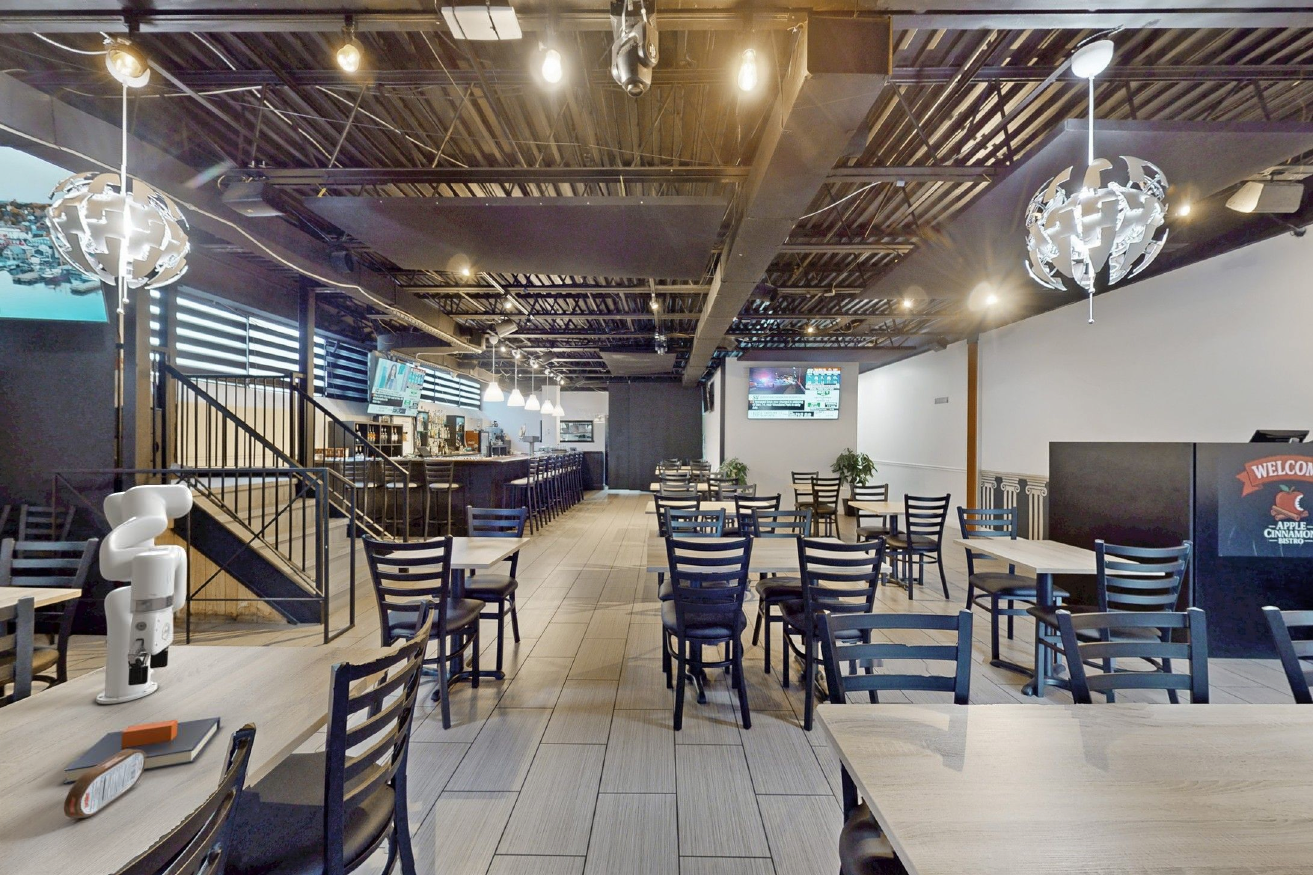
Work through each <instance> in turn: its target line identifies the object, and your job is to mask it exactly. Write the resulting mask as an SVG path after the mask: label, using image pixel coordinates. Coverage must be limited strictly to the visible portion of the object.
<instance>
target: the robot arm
mask: <svg viewBox="0 0 1313 875" xmlns="http://www.w3.org/2000/svg"><path fill="white" fill-rule="evenodd" d="M193 499H194V498H193V493H192V491H191V489H190V488H189V487H187V486H186V485H183V484H150V485H149V484H147V485H138V486H134V487H131V488H129V489H127V490H126V491H122V492H115V493H111V494H108V495H107V496H106V497H105V498H104V501H103V512H104V516H105V519H106V520H107V522H108V524H109V526H110V527H111V531H110V532H109V533H108V534H107V535H106V536H105V537H104V538H103V540H102V542H101V544H100V547H99V551H98V552H99V554H98V555H99V571H100V572H99V573H100V575H101V577H102V578H103V579H105V580H107V581H112V582H115V581H117V582H118V581H119V582H130V585H127V586H121V587H117V588H116V589H114V590H111V591H110V592H109V593H108V594H106V596H105V598H104V613H105V619H106V655H105V677H104V690H103V691H102V692H101V693H99V694H98V695H97V696H96V703H98V704H101V705H111V704H120V703H126V702H130V701H134V700H137V699H139V698H140V699H141V698H143V697H146V696H148V695H150V694H153V692H155V691H156V690H157V689H158V683H157V682H155V681H152V680H151V679H152V678H151V676H152V675H153V674H154V669H161V668H166V667H167V666H168V662H169V648H170V645H171V644H172V643H173V641H174V612H175V613H176V612H177V611H180V610H182V609H183V608H184V606H185V605H186V600H187V577H188V575H187V574H188V558H187V557H188V556H187V552H186V550H185V548H184V547H182V546H180V545H175V544H172V545H170V544H162V545H161V544H160V545H155V538H157V537H159V536H160V535H162V534H163V533H164V532H165V531H166V530H167V528H168V525H169V521H168V520H171V519H180V518H182V517H184V516H185V515H187V514H188V513H189V512H190V511H191V510H192V507H193V503H194V500H193Z"/></svg>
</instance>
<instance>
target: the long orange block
mask: <svg viewBox="0 0 1313 875" xmlns="http://www.w3.org/2000/svg"><path fill="white" fill-rule="evenodd" d="M177 723H178V719H171V720H164V721H158V722H149V723H144V724H137V725H130V726H127V727H126V728H125V729H124V730H122V731H123V732H122V747H121V748H127V747H133V746H139V745H146V744H152V743H159V742H165V741H171V740H172V739H173V738H174V737H175V736H176V735H177Z"/></svg>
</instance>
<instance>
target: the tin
mask: <svg viewBox="0 0 1313 875" xmlns="http://www.w3.org/2000/svg"><path fill="white" fill-rule="evenodd" d="M145 761H146V754H145V752H143V751H142V750H132V749H125V750H123V751H121V752H119V753H117V754H116V755H114V756H112V757H111V758H109V759H107V760H106V761H104V762H102V763H100V764H99V765H97V766H95V767H94V768H92V769H90V770H88V771H87V772H85V773H84V774H83V775H82V776H81V777H80V778H79V779H78V780H77V781H76V782H75V783H73V785H72V786H71V787H70V789H69V791H68V793H67V795H66V797H65V800H64V804H63V813H64V816H66V817H67V818H69V819H75V818H78V819H79V818H84V819H85V818H89V817H91V816H93V815H96V814H97V813H98V812H100V811H102V810H103V809H104V808H105V807H107V806H109V805H110V804H111V803H113V802H115V801H116V800H117V799H119V798H120V797H122V796H123V795H124V794H126V793H128V792H129V791H130V790H131V789H133V788H134V787H135V786H136V784H137V783H138V781H139V780H140V779H141V777H142V775H143V773H144V772H145V771H144V766H145Z"/></svg>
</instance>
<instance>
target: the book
mask: <svg viewBox="0 0 1313 875" xmlns="http://www.w3.org/2000/svg"><path fill="white" fill-rule="evenodd" d="M220 729H221V716H216V717H209V718H203V719H196V720H188V721H182V722H177V735H176V736H175V737H174V738H173V739H172V740H171V741H165V742H159V743H152V744H146V745H139V746H133V747H127V748H121V747H122V732H123V731H124V730H119V731H113V732H108V733H106V734H105V735H103V737H102V738H101V739H99V740H98V741H97V742H96V743H94V745H92V746H91V747H90V748H88V750H86V751H85V752H84V753H83V754H81V755H80V756H79V757H78V758H76V759H75V761H73V762H72V763H70V765H69V766H67V767H66V768H65V769H64V772H66V773H67V774H66V780H65V781H64V782H63V785H67V784H74V783H75V782H76V781H77V780H78V779H79V778H80V777H81V776H82V775H83V774H84V773H85V772H87V771H88V770H90V769H92V768H94V767H95V766H97V765H99V764H100V763H102V762H104V761H106V760H107V759H109V758H111V757H112V756H114V755H116V754H117V753H119V752H121V751H123V750H125V749H132V750H142V751H143V752H145V754H146V761H145V766H144V771H143V772H145V771H151V770H157V769H163V768H168V767H175V766H180V765H187V764H192V763H194V762H195V761H196V760H197V758H198V757H199V756H200V755H201V753H202V752H203V751H204V749H205V748H206V747H207V746H208V745H209V743H210V742H211V741H212V740H213V738H214V737H215V736H216V734H217V733H218V732H219V731H220Z"/></svg>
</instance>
